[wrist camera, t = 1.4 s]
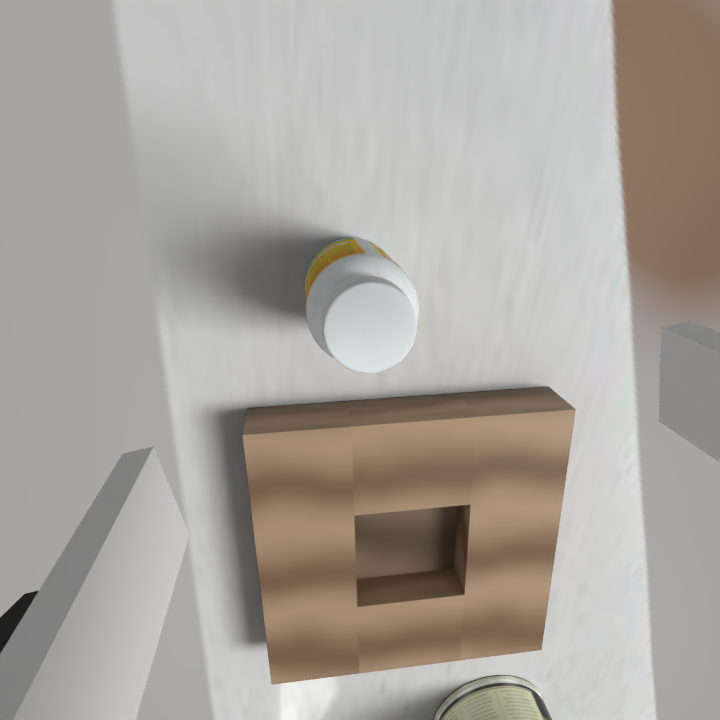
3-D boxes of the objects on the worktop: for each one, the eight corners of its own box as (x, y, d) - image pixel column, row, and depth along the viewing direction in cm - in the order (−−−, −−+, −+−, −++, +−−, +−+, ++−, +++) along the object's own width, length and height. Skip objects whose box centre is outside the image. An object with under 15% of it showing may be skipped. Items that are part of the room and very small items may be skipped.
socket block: (247, 408, 32) (242, 434, 29) (548, 386, 34) (575, 409, 31) (273, 641, 39) (271, 684, 36) (521, 611, 41) (541, 649, 38)
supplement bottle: (404, 248, 30) (451, 281, 21) (381, 333, 31) (416, 398, 22) (314, 226, 29) (322, 252, 20) (295, 316, 30) (296, 377, 21)
